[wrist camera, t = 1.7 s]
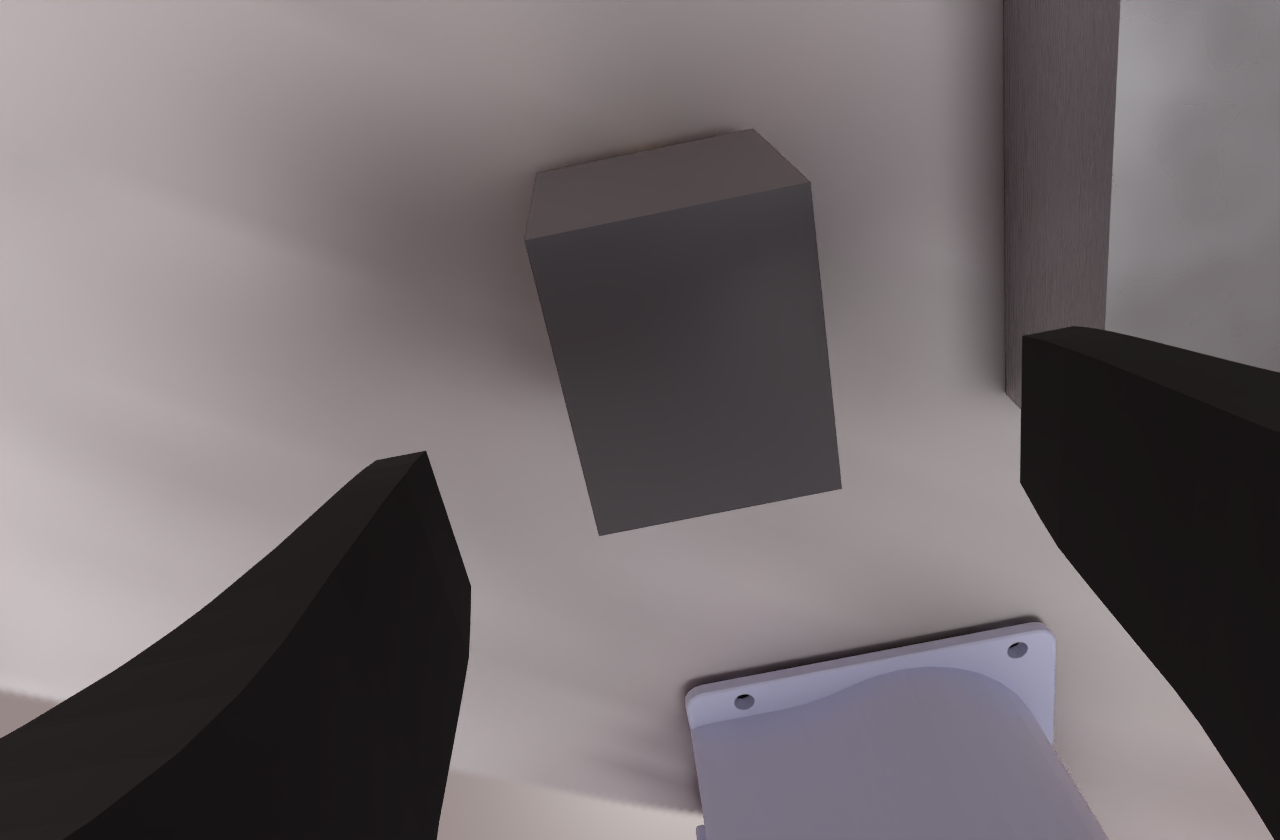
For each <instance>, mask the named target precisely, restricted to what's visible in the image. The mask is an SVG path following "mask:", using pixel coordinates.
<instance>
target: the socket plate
mask: <svg viewBox="0 0 1280 840" xmlns="http://www.w3.org/2000/svg"><path fill="white" fill-rule="evenodd" d="M1004 120H1005V291H1006V395H1007V396H1008V397H1009V398H1010V399H1011V400H1012V401H1013V402H1014V403H1015V404H1016V405H1017V406H1018V407H1019V408H1020V409H1021V386H1022V336H1024V335H1029V334H1034V333H1040V332H1045V331H1050V330H1055V329H1060V328H1066V327H1071V326H1080V327H1089V328H1095V329H1101V330H1107V331H1112V332H1116V333H1121V334H1125V335H1130V336H1134V337H1138V338H1143V339H1147V340H1151V341H1155V342H1159V343H1163V344H1166V345H1170V346H1174V347H1178V348H1182V349H1186V350H1190V351H1194V352H1198V353H1202V354H1206V355H1210V356H1214V357H1218V358H1222V359H1226V360H1230V361H1234V362H1238V363H1242V364H1246V365H1250V366H1254V367H1258V368H1263V369H1267V370H1271V371H1275V372H1280V0H1004Z"/></svg>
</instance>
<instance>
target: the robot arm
mask: <svg viewBox="0 0 1280 840" xmlns="http://www.w3.org/2000/svg"><path fill="white" fill-rule="evenodd" d="M1020 483H1021V485H1022V487H1023V488H1024V490H1025V492H1026V494H1027V496H1028V497H1029V499H1030V501H1031V503H1032V504H1033V506H1034V508H1035V510H1036V512H1037V513H1038V515H1039V517H1040V519H1041V520H1042V522H1043V523H1044V525H1045V527H1046V528H1047V530H1048V532H1049V533H1050V535H1051V536H1052V538H1053V540H1054V541H1055V543H1056V545H1057V546H1058V548H1059V549H1060V550H1061V551H1062V553H1063V554H1064V555H1065V557H1066V558H1067V559H1068V560H1069V562H1070V563H1071V564H1072V565H1073V567H1074V568H1075V569H1076V570H1077V572H1078V573H1079V574H1080V575H1081V577H1082V578H1083V579H1084V580H1085V581H1086V583H1087V584H1088V585H1089V586H1090V588H1091V589H1092V590H1093V591H1094V593H1095V594H1096V595H1097V596H1098V598H1099V599H1100V600H1101V601H1102V602H1103V604H1104V605H1105V606H1106V607H1107V608H1108V610H1109V611H1110V612H1111V613H1112V614H1113V616H1114V617H1115V618H1116V619H1117V621H1118V622H1119V623H1120V624H1121V625H1122V627H1123V628H1124V629H1125V630H1126V631H1127V633H1128V634H1129V635H1130V636H1131V637H1132V639H1133V640H1134V641H1135V642H1136V644H1137V645H1138V646H1139V647H1140V648H1141V650H1142V651H1143V652H1144V653H1145V654H1146V656H1147V657H1148V658H1149V659H1150V661H1151V662H1152V663H1153V664H1154V665H1155V667H1156V668H1157V669H1158V670H1159V671H1160V673H1161V674H1162V675H1163V676H1164V678H1165V679H1166V680H1167V681H1168V682H1169V684H1170V685H1171V686H1172V687H1173V688H1174V690H1175V691H1176V692H1177V694H1178V695H1179V696H1180V698H1181V699H1182V700H1183V702H1184V703H1185V704H1186V706H1187V707H1188V708H1189V710H1190V711H1191V712H1192V714H1193V715H1194V716H1195V718H1196V719H1197V720H1198V722H1199V723H1200V725H1201V726H1202V728H1203V729H1204V731H1205V732H1206V734H1207V735H1208V737H1209V738H1210V740H1211V741H1212V743H1213V744H1214V746H1215V747H1216V749H1217V751H1218V752H1219V754H1220V755H1221V757H1222V758H1223V760H1224V761H1225V763H1226V764H1227V766H1228V767H1229V769H1230V770H1231V772H1232V773H1233V775H1234V776H1235V778H1236V779H1237V781H1238V783H1239V784H1240V786H1241V787H1242V789H1243V790H1244V792H1245V793H1246V795H1247V796H1248V798H1249V799H1250V801H1251V802H1252V804H1253V806H1254V807H1255V809H1256V811H1257V812H1258V814H1259V815H1260V817H1261V819H1262V820H1263V822H1264V824H1265V825H1266V827H1267V828H1268V830H1269V832H1270V833H1271V835H1272V837H1273V838H1274V840H1280V372H1275V371H1271V370H1267V369H1263V368H1258V367H1254V366H1250V365H1246V364H1242V363H1238V362H1234V361H1230V360H1226V359H1222V358H1218V357H1214V356H1210V355H1206V354H1202V353H1198V352H1194V351H1190V350H1186V349H1182V348H1178V347H1174V346H1170V345H1166V344H1163V343H1159V342H1155V341H1151V340H1147V339H1143V338H1138V337H1134V336H1130V335H1125V334H1121V333H1116V332H1112V331H1107V330H1101V329H1095V328H1089V327H1080V326H1071V327H1066V328H1060V329H1055V330H1050V331H1045V332H1040V333H1034V334H1029V335H1024V336H1022V386H1021V460H1020ZM470 615H471V585H470V582H469V579H468V576H467V573H466V570H465V567H464V564H463V561H462V558H461V555H460V552H459V549H458V546H457V543H456V540H455V537H454V534H453V531H452V528H451V525H450V522H449V519H448V516H447V513H446V510H445V507H444V504H443V501H442V498H441V495H440V491H439V488H438V485H437V482H436V479H435V476H434V473H433V470H432V467H431V464H430V461H429V458H428V455H427V452H426V451H422V452H417V453H412V454H407V455H401V456H396V457H391V458H386V459H381V460H376V461H375V462H373V463H372V464H370V465H369V466H367V467H366V468H365V469H364V470H362V471H361V472H360V473H359V474H357V475H356V476H355V477H354V478H353V479H351V480H350V481H349V482H348V483H347V484H346V485H345V486H344V487H342V488H341V489H340V490H339V491H338V492H337V493H336V494H335V495H334V496H332V497H331V498H330V499H329V500H328V501H327V502H326V503H325V504H324V505H323V506H321V507H320V508H319V509H318V510H317V511H316V512H315V513H314V514H313V515H312V516H310V517H309V518H308V519H307V520H306V521H305V522H304V523H303V524H302V525H301V526H299V527H298V528H297V529H296V530H295V531H294V532H293V533H292V534H291V535H289V536H288V537H287V538H286V539H285V540H284V541H283V542H282V543H281V544H280V545H278V546H277V547H276V548H275V549H274V550H273V551H272V552H270V553H269V554H268V555H267V556H266V557H264V558H263V559H262V560H261V561H260V562H258V563H257V564H256V565H255V566H254V567H252V568H251V569H250V570H249V571H248V572H246V573H245V574H244V575H243V576H242V577H240V578H239V579H238V580H237V581H236V582H234V583H233V584H232V585H231V586H230V587H228V588H227V589H226V590H225V591H224V592H222V593H221V594H220V595H219V596H218V597H216V598H215V599H214V600H213V601H211V602H210V603H209V604H208V605H206V606H205V607H204V608H202V609H201V610H200V611H199V612H197V613H196V614H195V615H193V616H192V617H191V618H189V619H188V620H187V621H185V622H184V623H182V624H181V625H180V626H178V627H177V628H176V629H174V630H173V631H172V632H170V633H169V634H167V635H166V636H164V637H163V638H162V639H160V640H159V641H157V642H156V643H154V644H153V645H151V646H150V647H149V648H147V649H146V650H144V651H143V652H141V653H140V654H138V655H137V656H136V657H134V658H133V659H131V660H130V661H128V662H127V663H125V664H124V665H122V666H121V667H119V668H118V669H116V670H115V671H113V672H112V673H110V674H108V675H107V676H105V677H103V678H102V679H100V680H98V681H97V682H95V683H93V684H92V685H90V686H88V687H87V688H85V689H83V690H82V691H80V692H78V693H77V694H75V695H73V696H72V697H70V698H68V699H67V700H65V701H63V702H62V703H60V704H59V705H57V706H55V707H54V708H52V709H50V710H49V711H47V712H45V713H44V714H42V715H40V716H39V717H37V718H36V719H34V720H32V721H30V722H29V723H27V724H25V725H24V726H22V727H20V728H18V729H17V730H15V731H13V732H11V733H9V734H8V735H6V736H4V737H2V738H0V840H437V833H438V826H439V820H440V814H441V808H442V803H443V798H444V793H445V787H446V782H447V776H448V771H449V765H450V760H451V755H452V749H453V744H454V738H455V733H456V727H457V722H458V717H459V711H460V705H461V700H462V694H463V688H464V683H465V677H466V671H467V665H468V659H469V642H470ZM1017 642H1020V643H1018V644H1017V645H1016V646H1014V647H1012V648H1009V647H1010V646H1011V645H1012V644H1014V643H1017ZM1055 662H1056V639H1055V636H1054V634H1053V633H1052V632H1051V630H1050V629H1049V628H1048V627H1047V626H1046V625H1045V624H1043V623H1040V622H1030V623H1025V624H1020V625H1015V626H1009V627H1004V628H999V629H994V630H988V631H983V632H978V633H973V634H967V635H962V636H957V637H951V638H946V639H941V640H936V641H930V642H925V643H920V644H915V645H909V646H904V647H899V648H894V649H888V650H883V651H878V652H873V653H867V654H862V655H857V656H851V657H846V658H841V659H836V660H830V661H825V662H820V663H815V664H809V665H804V666H799V667H794V668H788V669H783V670H778V671H773V672H767V673H762V674H757V675H752V676H746V677H741V678H736V679H730V680H725V681H720V682H715V683H709V684H704V685H700V686H697V687H694V688H693V689H691V690H690V691H689V692H688V693H687V695H686V697H685V707H686V713H687V717H688V722H689V726H690V731H691V738H692V745H693V751H694V758H695V764H696V771H697V778H698V784H699V791H700V798H701V804H702V811H703V817H704V824H705V825H700V826H697V828H696V835H697V840H1109V839H1108V837H1107V835H1106V834H1105V832H1104V830H1103V829H1102V827H1101V825H1100V824H1099V822H1098V820H1097V819H1096V817H1095V816H1094V814H1093V812H1092V811H1091V809H1090V807H1089V806H1088V804H1087V802H1086V801H1085V799H1084V798H1083V796H1082V794H1081V793H1080V791H1079V789H1078V788H1077V786H1076V784H1075V783H1074V781H1073V779H1072V778H1071V776H1070V775H1069V773H1068V771H1067V770H1066V768H1065V766H1064V765H1063V763H1062V761H1061V760H1060V758H1059V756H1058V755H1057V753H1056V752H1055V750H1054V748H1053V741H1054V701H1055ZM742 694H749V696H748V697H746V698H743V699H738V698H737V697H738V696H740V695H742Z"/></svg>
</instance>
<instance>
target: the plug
mask: <svg viewBox="0 0 1280 840" xmlns="http://www.w3.org/2000/svg"><path fill="white" fill-rule="evenodd" d="M525 244H526V248H527V252H528V256H529V260H530V264H531V268H532V272H533V276H534V280H535V284H536V288H537V292H538V296H539V300H540V303H541V307H542V311H543V315H544V319H545V323H546V327H547V331H548V335H549V339H550V343H551V347H552V351H553V355H554V359H555V363H556V367H557V371H558V375H559V379H560V383H561V387H562V391H563V395H564V399H565V403H566V407H567V411H568V415H569V419H570V422H571V426H572V430H573V434H574V438H575V442H576V446H577V450H578V454H579V458H580V462H581V466H582V470H583V474H584V478H585V482H586V486H587V490H588V494H589V498H590V502H591V506H592V510H593V514H594V518H595V522H596V526H597V530H598V534H599V536H602V535H607V534H612V533H617V532H622V531H627V530H633V529H638V528H643V527H648V526H653V525H658V524H663V523H668V522H674V521H679V520H684V519H689V518H694V517H699V516H704V515H710V514H715V513H720V512H725V511H730V510H735V509H740V508H745V507H751V506H756V505H761V504H766V503H771V502H776V501H781V500H786V499H792V498H797V497H802V496H807V495H812V494H817V493H822V492H827V491H833V490H838V489H842V485H841V476H840V466H839V456H838V447H837V437H836V427H835V417H834V408H833V398H832V388H831V378H830V369H829V359H828V349H827V339H826V330H825V320H824V310H823V300H822V291H821V281H820V271H819V261H818V252H817V242H816V232H815V222H814V213H813V203H812V193H811V183H810V181H809V180H808V179H807V178H806V177H805V176H804V175H802V174H801V173H800V172H799V171H798V170H797V169H796V168H795V167H794V166H793V165H792V164H791V163H790V162H789V161H787V160H786V159H785V158H784V157H783V156H782V155H781V154H780V153H779V152H778V151H777V150H776V149H775V148H773V147H772V146H771V145H770V144H769V143H768V142H767V141H766V140H765V139H764V138H763V137H762V136H761V135H760V134H758V133H757V132H756V131H755V130H754V129H748V130H743V131H738V132H733V133H728V134H724V135H719V136H714V137H709V138H704V139H699V140H694V141H690V142H685V143H680V144H675V145H670V146H665V147H661V148H656V149H651V150H646V151H641V152H636V153H631V154H627V155H622V156H617V157H612V158H607V159H602V160H598V161H593V162H588V163H583V164H578V165H573V166H569V167H564V168H559V169H554V170H549V171H544V172H539V173H537V174H536V179H535V185H534V190H533V196H532V201H531V207H530V213H529V218H528V224H527V229H526V235H525Z"/></svg>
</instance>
